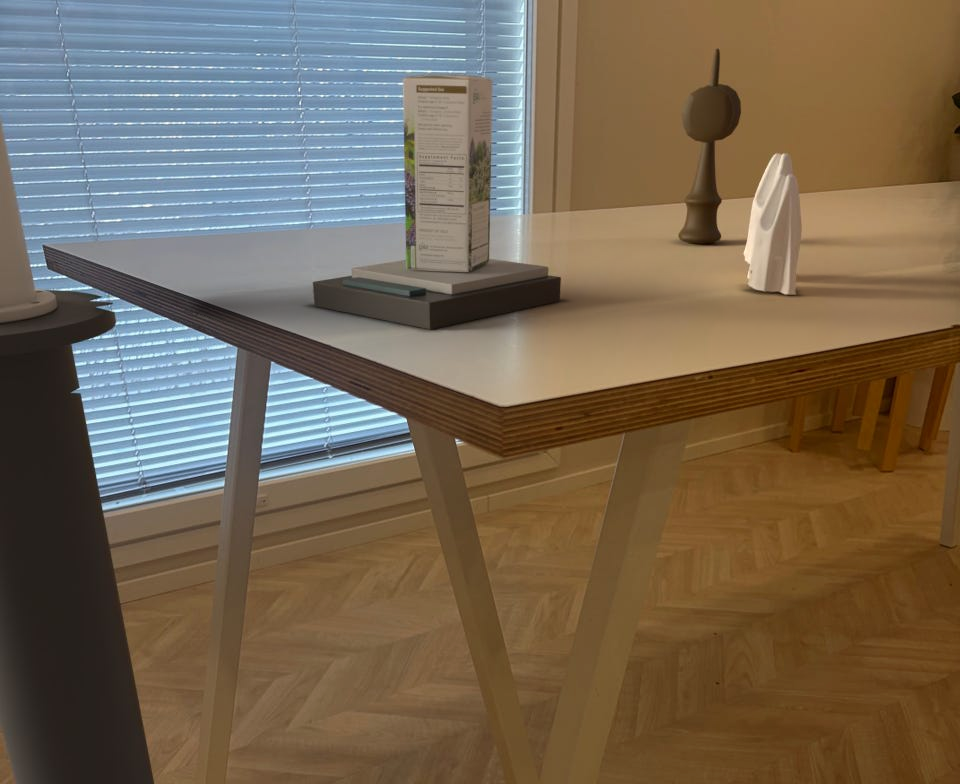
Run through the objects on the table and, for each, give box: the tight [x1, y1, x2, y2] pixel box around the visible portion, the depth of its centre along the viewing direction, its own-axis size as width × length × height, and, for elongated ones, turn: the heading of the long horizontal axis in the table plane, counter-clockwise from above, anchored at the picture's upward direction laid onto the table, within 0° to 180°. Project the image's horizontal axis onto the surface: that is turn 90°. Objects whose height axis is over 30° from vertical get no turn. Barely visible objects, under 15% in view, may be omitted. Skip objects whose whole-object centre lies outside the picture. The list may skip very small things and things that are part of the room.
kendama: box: [677, 48, 742, 244], centre depth 117 cm, size 6×10×20 cm, turn 163°
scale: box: [312, 258, 562, 330], centre depth 88 cm, size 16×14×3 cm
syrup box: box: [402, 74, 493, 272], centre depth 85 cm, size 6×6×14 cm
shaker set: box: [743, 152, 803, 296], centre depth 94 cm, size 12×4×11 cm, turn 171°
